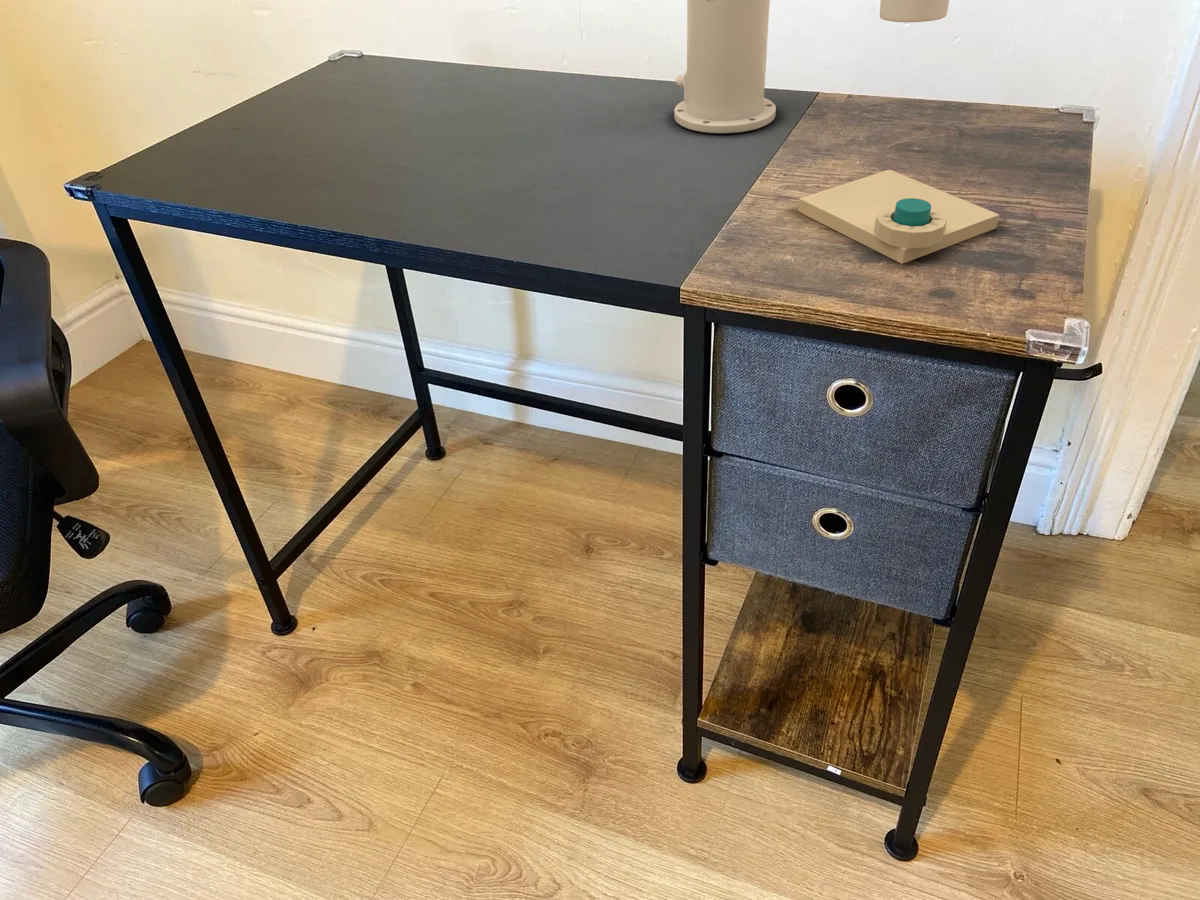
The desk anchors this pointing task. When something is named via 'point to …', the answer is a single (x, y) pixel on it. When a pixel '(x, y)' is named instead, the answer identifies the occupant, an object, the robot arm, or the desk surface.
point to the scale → (871, 212)
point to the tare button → (912, 212)
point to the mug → (913, 10)
